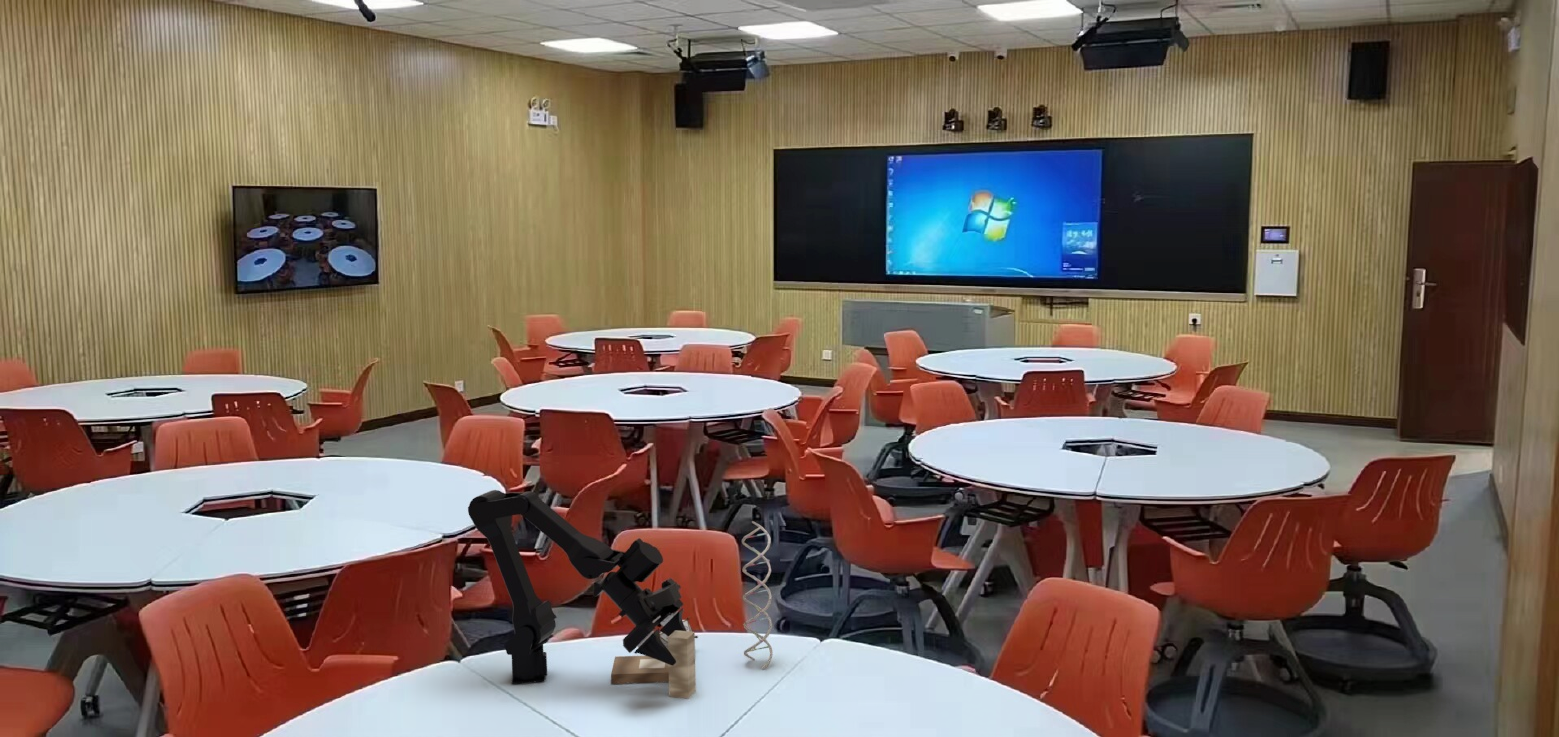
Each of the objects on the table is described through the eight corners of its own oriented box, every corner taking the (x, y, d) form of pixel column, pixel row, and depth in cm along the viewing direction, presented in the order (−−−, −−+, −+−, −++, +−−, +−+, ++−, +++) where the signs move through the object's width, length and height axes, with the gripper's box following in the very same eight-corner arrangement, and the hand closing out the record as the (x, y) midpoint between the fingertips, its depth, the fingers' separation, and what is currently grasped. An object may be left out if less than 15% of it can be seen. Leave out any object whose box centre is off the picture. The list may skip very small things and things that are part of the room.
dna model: (739, 661, 245) (736, 521, 242) (768, 657, 247) (766, 519, 244) (747, 672, 239) (745, 529, 236) (777, 668, 241) (775, 526, 237)
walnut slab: (611, 683, 234) (611, 673, 234) (615, 665, 244) (615, 656, 243) (691, 680, 235) (691, 670, 234) (692, 663, 245) (691, 653, 244)
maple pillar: (669, 696, 227) (667, 636, 226) (676, 688, 231) (675, 630, 229) (688, 698, 226) (687, 638, 225) (695, 690, 230) (694, 631, 228)
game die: (684, 668, 252) (709, 628, 254) (677, 668, 244) (703, 627, 245) (650, 645, 254) (676, 605, 255) (642, 644, 246) (668, 603, 247)
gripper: (635, 584, 218) (692, 645, 216) (672, 557, 236) (725, 614, 234) (598, 622, 221) (655, 682, 219) (638, 593, 239) (690, 649, 237)
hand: (683, 655), depth 227 cm, fingers open, 9 cm apart
